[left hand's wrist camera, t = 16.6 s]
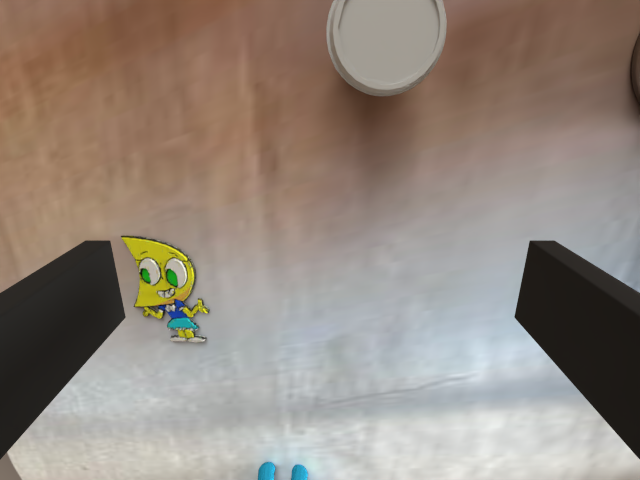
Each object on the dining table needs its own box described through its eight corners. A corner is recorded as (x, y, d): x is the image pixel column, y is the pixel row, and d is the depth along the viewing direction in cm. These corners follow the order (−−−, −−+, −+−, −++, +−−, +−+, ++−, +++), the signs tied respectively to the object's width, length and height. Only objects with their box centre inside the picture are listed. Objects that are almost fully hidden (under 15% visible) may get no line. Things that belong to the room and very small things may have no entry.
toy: (135, 342, 53) (117, 238, 47) (138, 338, 53) (121, 235, 48) (210, 343, 53) (201, 239, 47) (212, 339, 53) (203, 237, 48)
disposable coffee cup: (339, -17, 39) (347, -63, 28) (428, 13, 40) (471, -20, 29) (314, 81, 42) (312, 76, 31) (397, 107, 43) (424, 111, 32)
